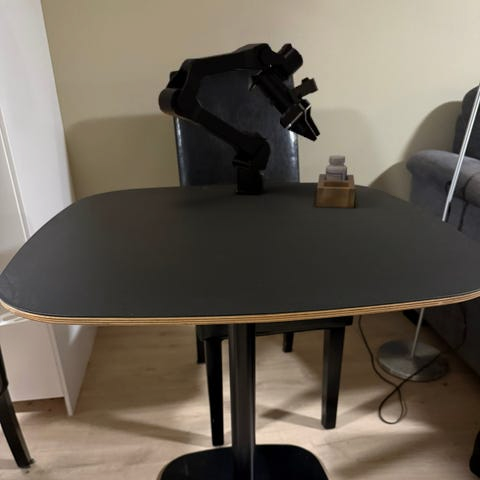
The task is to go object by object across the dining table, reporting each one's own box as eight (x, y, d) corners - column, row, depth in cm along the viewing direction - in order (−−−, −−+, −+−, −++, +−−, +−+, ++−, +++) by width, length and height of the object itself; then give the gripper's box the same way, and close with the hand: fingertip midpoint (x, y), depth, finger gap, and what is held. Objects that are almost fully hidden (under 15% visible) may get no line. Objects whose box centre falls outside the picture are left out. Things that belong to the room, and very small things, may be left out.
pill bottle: (334, 191, 130) (336, 154, 125) (349, 195, 126) (353, 156, 121) (319, 195, 127) (322, 156, 122) (335, 198, 123) (338, 159, 118)
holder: (316, 206, 117) (317, 187, 114) (318, 190, 131) (319, 173, 129) (353, 207, 115) (355, 188, 113) (351, 191, 129) (353, 174, 127)
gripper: (294, 65, 110) (339, 117, 113) (304, 65, 126) (343, 110, 129) (261, 103, 116) (304, 152, 119) (274, 97, 132) (312, 141, 135)
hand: (317, 137), depth 125 cm, fingers open, 9 cm apart
